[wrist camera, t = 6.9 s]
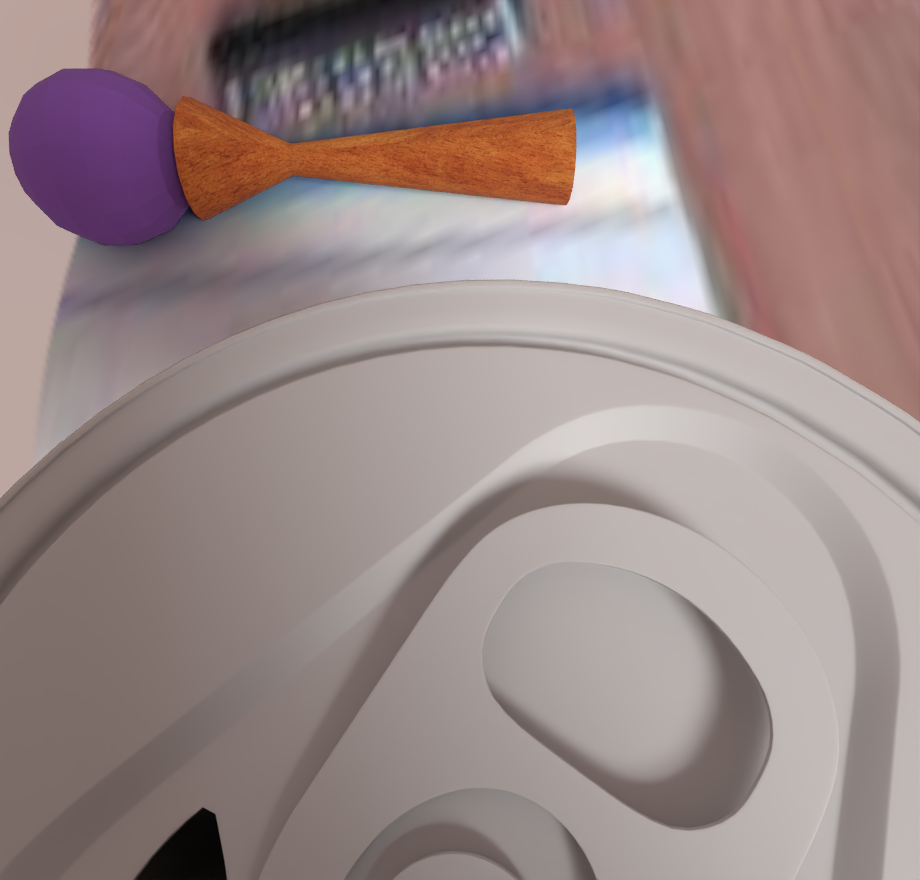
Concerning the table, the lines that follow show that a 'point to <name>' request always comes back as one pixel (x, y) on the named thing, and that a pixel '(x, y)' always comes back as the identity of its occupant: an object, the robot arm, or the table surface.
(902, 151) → the table surface
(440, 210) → the table surface
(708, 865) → the beverage can
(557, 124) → the kendama
